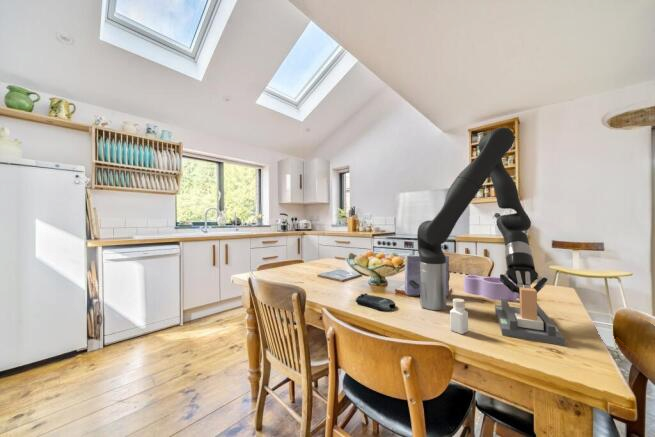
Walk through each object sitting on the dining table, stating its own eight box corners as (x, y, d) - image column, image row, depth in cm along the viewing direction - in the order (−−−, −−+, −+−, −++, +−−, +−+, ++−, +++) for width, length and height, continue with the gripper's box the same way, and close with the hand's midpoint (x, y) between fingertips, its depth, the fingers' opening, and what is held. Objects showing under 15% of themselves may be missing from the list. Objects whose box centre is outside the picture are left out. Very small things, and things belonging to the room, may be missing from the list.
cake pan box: (448, 293, 117) (447, 254, 117) (452, 296, 112) (451, 255, 112) (404, 292, 119) (403, 254, 118) (406, 296, 114) (406, 256, 113)
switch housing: (494, 310, 95) (494, 297, 95) (543, 316, 89) (543, 303, 89) (502, 335, 76) (502, 319, 76) (565, 345, 69) (564, 328, 69)
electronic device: (354, 309, 104) (388, 312, 95) (353, 295, 105) (387, 296, 96) (367, 306, 111) (399, 308, 101) (366, 292, 112) (398, 293, 103)
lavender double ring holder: (460, 293, 116) (460, 278, 116) (469, 287, 125) (469, 273, 125) (514, 303, 102) (514, 286, 102) (520, 296, 111) (520, 280, 111)
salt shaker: (462, 335, 77) (462, 303, 76) (449, 330, 80) (448, 299, 80) (469, 331, 79) (468, 300, 79) (456, 327, 82) (455, 297, 82)
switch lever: (514, 320, 81) (514, 285, 80) (539, 323, 78) (538, 288, 78) (517, 326, 76) (517, 290, 76) (543, 330, 73) (543, 292, 73)
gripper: (496, 250, 90) (501, 295, 79) (545, 252, 84) (557, 301, 73) (495, 262, 95) (499, 307, 84) (541, 265, 89) (552, 313, 78)
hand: (526, 304), depth 79 cm, fingers closed
